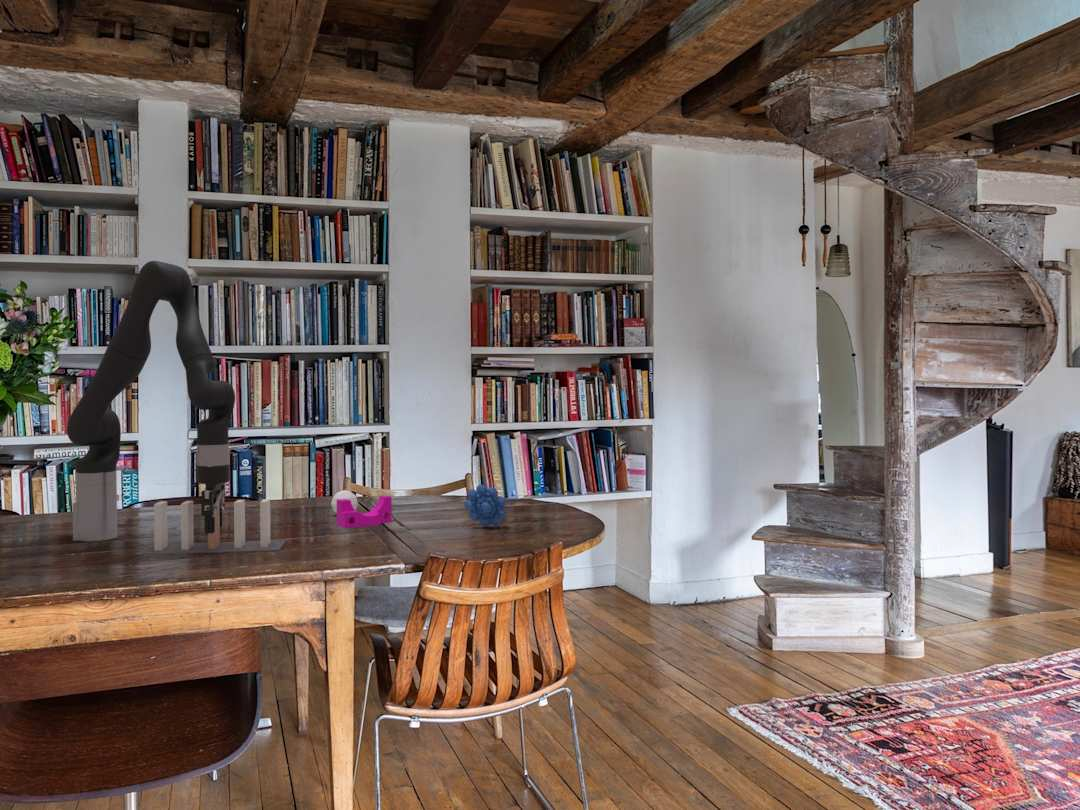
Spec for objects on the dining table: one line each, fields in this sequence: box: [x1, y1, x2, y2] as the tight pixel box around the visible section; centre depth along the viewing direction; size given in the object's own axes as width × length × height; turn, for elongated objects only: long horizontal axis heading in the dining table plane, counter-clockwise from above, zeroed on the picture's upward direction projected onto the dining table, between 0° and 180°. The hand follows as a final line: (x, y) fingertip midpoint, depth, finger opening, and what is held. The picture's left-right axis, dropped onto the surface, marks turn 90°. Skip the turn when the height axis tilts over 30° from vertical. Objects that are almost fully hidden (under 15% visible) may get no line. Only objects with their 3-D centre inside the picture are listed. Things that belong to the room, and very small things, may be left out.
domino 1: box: [153, 500, 169, 551], centre depth 196 cm, size 2×5×11 cm, turn 10°
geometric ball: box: [330, 489, 359, 514], centre depth 247 cm, size 8×8×8 cm
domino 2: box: [180, 500, 195, 550], centre depth 197 cm, size 2×5×11 cm, turn 10°
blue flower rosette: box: [464, 484, 507, 528], centre depth 227 cm, size 12×7×12 cm, turn 97°
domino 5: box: [259, 498, 272, 547], centre depth 200 cm, size 2×5×11 cm, turn 10°
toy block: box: [336, 495, 393, 529], centre depth 233 cm, size 15×6×8 cm, turn 124°
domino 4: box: [233, 499, 246, 548], centre depth 199 cm, size 2×5×11 cm, turn 10°
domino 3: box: [207, 506, 221, 549], centre depth 198 cm, size 2×5×11 cm, turn 10°
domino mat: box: [135, 539, 287, 556], centre depth 198 cm, size 32×12×1 cm, turn 100°
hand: (213, 529), depth 198 cm, fingers open, 8 cm apart
